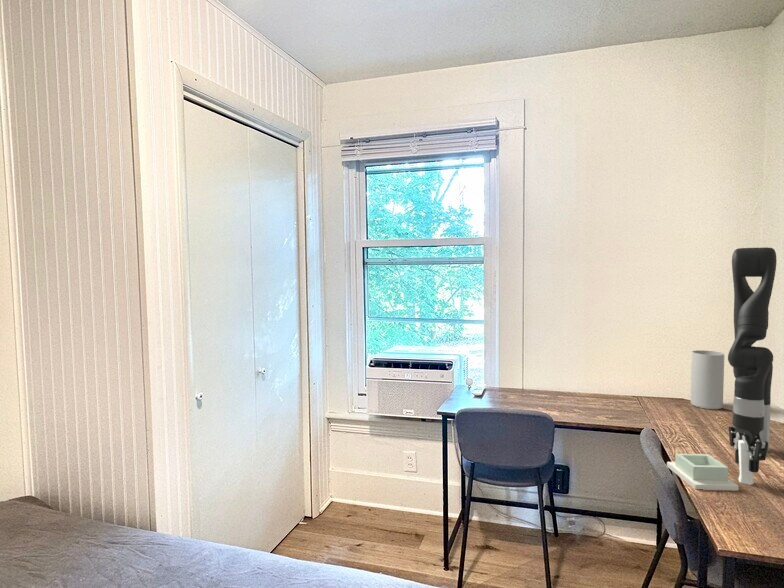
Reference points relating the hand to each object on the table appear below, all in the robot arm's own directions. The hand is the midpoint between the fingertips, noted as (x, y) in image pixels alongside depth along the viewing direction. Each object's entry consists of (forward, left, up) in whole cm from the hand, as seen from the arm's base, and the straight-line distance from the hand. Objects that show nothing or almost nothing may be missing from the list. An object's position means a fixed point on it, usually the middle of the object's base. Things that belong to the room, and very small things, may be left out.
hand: (746, 467), depth 140 cm
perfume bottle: (0, 0, -5) cm, 5 cm away
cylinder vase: (-79, +34, -5) cm, 86 cm away
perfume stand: (-2, -12, -4) cm, 13 cm away
